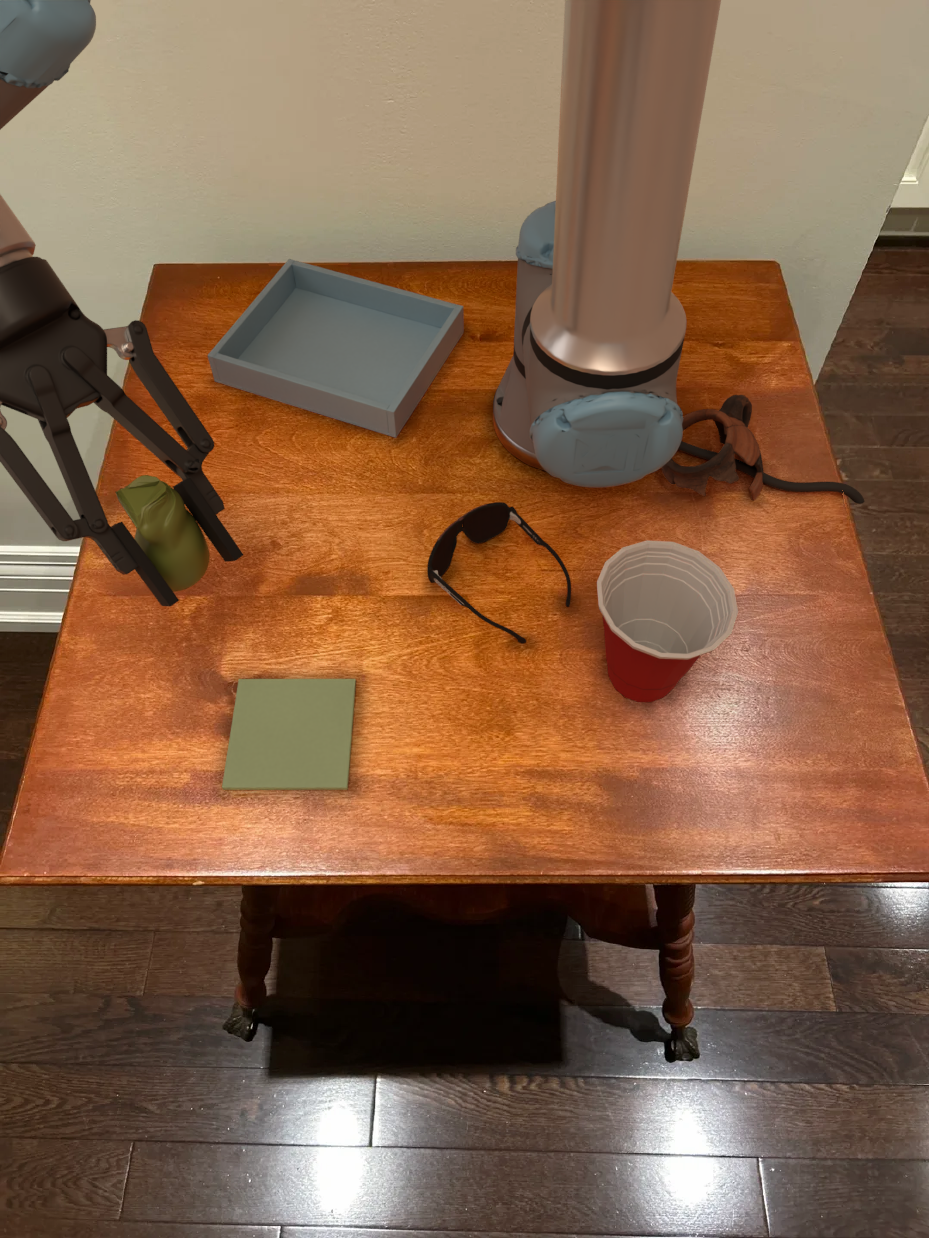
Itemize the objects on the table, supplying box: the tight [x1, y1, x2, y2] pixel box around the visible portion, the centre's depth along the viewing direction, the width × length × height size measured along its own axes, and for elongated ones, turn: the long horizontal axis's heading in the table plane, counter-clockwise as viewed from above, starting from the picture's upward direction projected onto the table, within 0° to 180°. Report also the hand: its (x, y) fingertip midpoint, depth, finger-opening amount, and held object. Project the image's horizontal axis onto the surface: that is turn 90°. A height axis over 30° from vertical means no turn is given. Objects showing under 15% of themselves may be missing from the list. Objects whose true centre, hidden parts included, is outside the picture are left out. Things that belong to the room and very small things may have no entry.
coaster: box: [221, 678, 357, 791], centre depth 79 cm, size 10×10×1 cm
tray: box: [207, 258, 465, 439], centre depth 103 cm, size 22×18×4 cm
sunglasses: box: [426, 501, 572, 644], centre depth 85 cm, size 10×12×5 cm
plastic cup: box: [596, 540, 739, 703], centre depth 77 cm, size 11×11×12 cm
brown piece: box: [660, 394, 765, 501], centre depth 93 cm, size 12×10×8 cm
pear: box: [114, 474, 211, 593], centre depth 68 cm, size 6×5×10 cm
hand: (202, 579), depth 68 cm, fingers closed on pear, 5 cm apart
